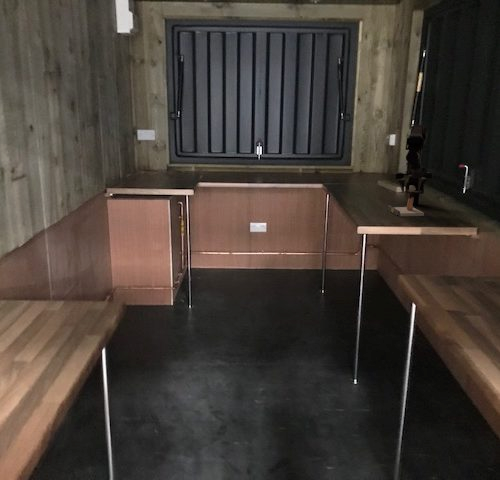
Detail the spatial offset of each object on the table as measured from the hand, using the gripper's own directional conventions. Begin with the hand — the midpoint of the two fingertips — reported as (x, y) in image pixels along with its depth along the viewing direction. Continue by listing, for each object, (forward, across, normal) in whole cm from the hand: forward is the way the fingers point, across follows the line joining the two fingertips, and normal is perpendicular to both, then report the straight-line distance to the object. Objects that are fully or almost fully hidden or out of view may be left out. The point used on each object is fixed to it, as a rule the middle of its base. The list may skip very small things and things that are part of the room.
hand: (411, 192), depth 254 cm
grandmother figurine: (+9, 0, 0) cm, 9 cm away
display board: (+10, -2, 0) cm, 11 cm away
